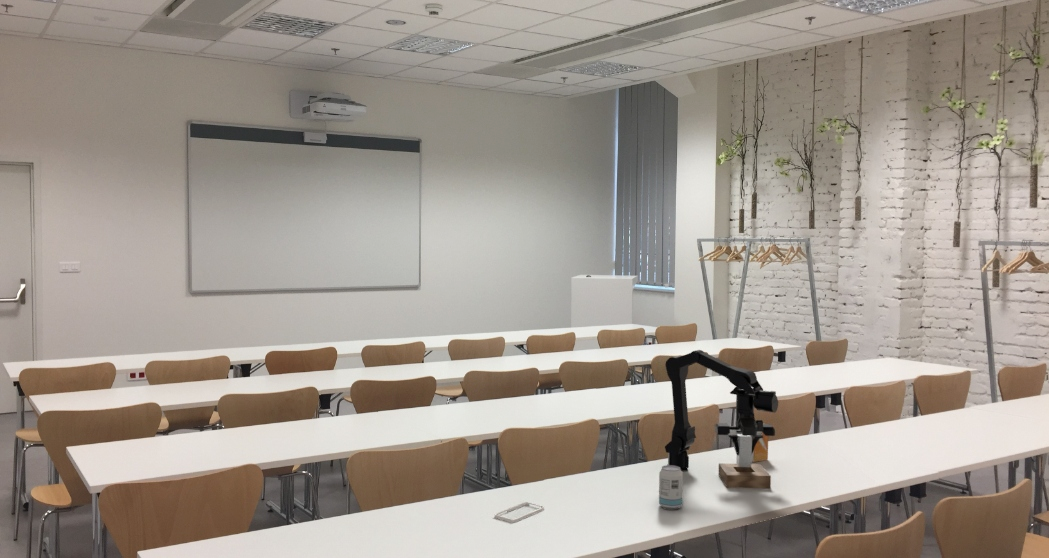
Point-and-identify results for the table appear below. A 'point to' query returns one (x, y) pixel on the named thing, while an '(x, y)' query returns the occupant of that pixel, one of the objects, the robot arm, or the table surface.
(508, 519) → the phone case
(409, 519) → the table surface
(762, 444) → the small box
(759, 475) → the walnut socket block
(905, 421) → the table surface
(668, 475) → the beverage can
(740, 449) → the grey metal peg
